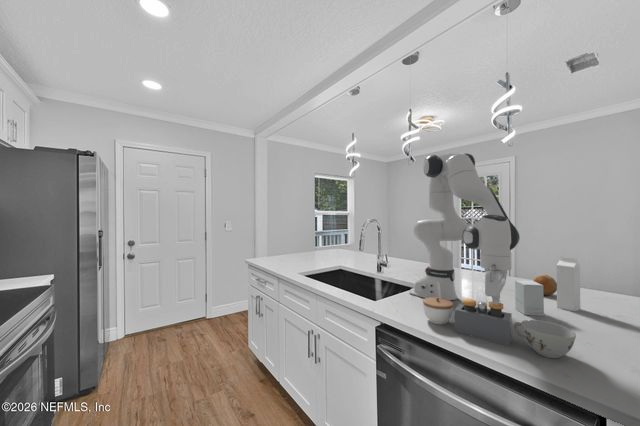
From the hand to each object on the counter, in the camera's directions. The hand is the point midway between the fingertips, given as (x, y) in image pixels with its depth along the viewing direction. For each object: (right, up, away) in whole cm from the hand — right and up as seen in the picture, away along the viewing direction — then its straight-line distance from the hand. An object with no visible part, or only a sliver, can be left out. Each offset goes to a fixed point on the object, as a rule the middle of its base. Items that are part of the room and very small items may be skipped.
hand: (496, 303), depth 91 cm
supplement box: (+28, -11, +22) cm, 38 cm away
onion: (+54, -11, +45) cm, 71 cm away
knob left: (-6, -10, +5) cm, 13 cm away
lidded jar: (-13, -12, +14) cm, 23 cm away
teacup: (+8, -12, -9) cm, 17 cm away
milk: (+49, -11, +26) cm, 56 cm away
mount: (-3, -12, +3) cm, 12 cm away
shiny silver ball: (-3, -4, +3) cm, 6 cm away
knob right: (0, -9, 0) cm, 9 cm away
